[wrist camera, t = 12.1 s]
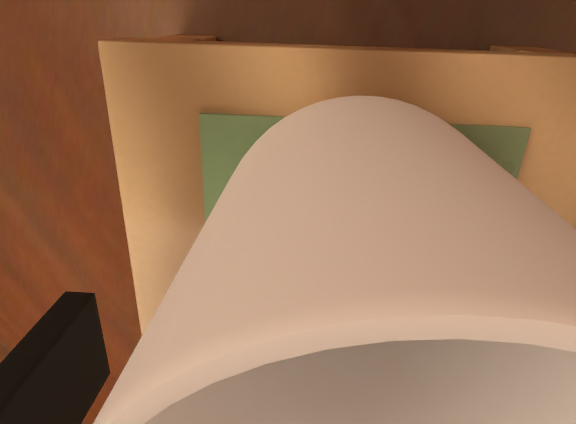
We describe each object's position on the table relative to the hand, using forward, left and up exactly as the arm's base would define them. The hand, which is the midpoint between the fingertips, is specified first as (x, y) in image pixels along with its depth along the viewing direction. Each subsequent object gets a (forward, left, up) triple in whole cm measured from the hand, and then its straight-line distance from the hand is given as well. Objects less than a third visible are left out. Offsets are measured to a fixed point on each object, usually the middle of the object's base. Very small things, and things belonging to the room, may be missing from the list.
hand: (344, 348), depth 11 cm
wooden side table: (0, 0, -12) cm, 12 cm away
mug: (+1, 0, -4) cm, 4 cm away
